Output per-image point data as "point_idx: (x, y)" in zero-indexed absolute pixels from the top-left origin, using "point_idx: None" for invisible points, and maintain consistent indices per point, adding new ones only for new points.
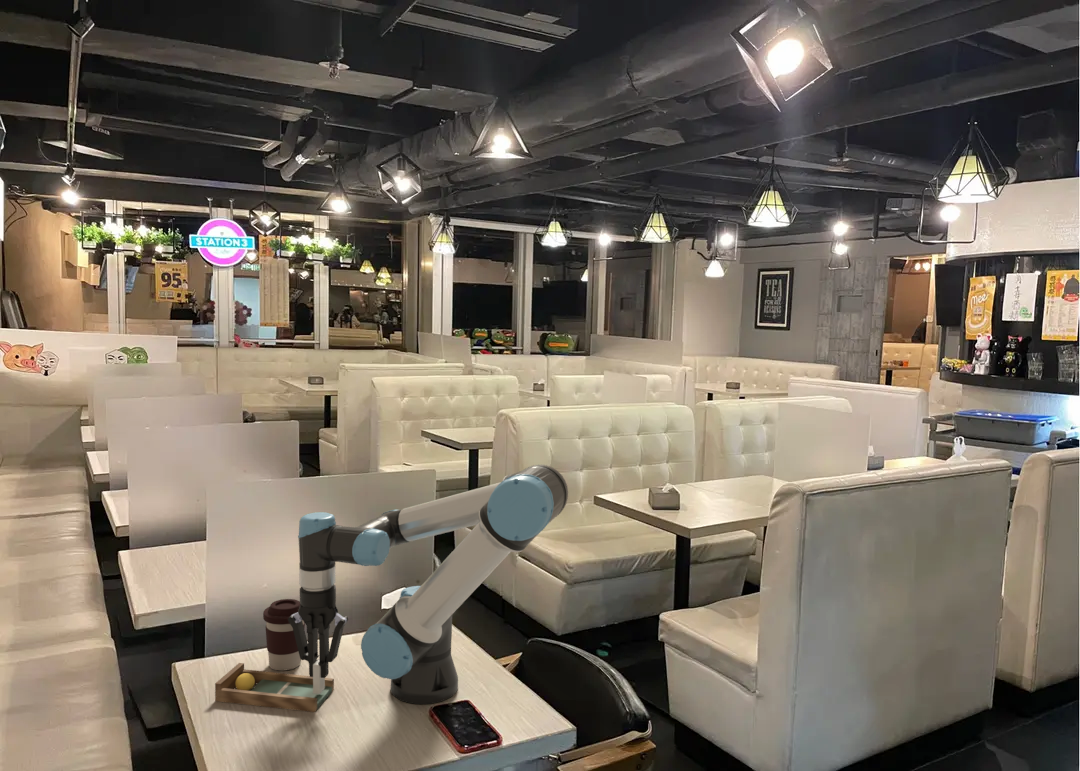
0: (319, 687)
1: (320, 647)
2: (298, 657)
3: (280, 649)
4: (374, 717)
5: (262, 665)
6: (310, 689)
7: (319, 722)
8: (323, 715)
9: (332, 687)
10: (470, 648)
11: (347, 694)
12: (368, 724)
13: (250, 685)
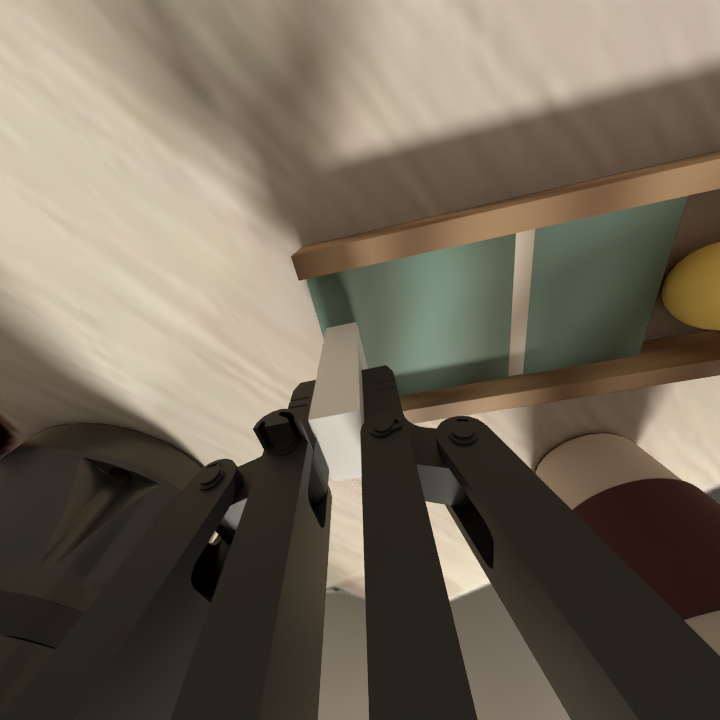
0: (324, 341)
1: (265, 589)
2: None
3: (652, 503)
4: (80, 310)
5: (658, 441)
6: (407, 362)
7: (221, 174)
8: (253, 239)
9: None
10: None
11: (288, 398)
12: (44, 254)
13: (690, 272)
